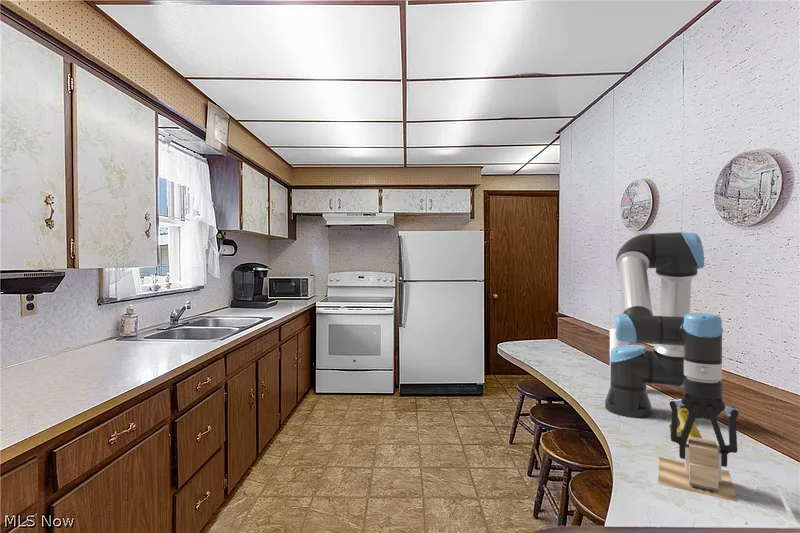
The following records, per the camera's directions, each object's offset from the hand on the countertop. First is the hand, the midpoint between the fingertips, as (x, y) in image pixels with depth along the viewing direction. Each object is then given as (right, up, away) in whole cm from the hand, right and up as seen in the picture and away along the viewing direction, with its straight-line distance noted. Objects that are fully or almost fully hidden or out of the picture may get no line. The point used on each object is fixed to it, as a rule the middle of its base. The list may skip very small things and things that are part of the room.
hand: (702, 475), depth 102 cm
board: (0, -3, +3) cm, 4 cm away
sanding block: (0, -1, 0) cm, 1 cm away
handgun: (+11, -3, +21) cm, 24 cm away
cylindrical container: (+21, -2, +79) cm, 82 cm away
